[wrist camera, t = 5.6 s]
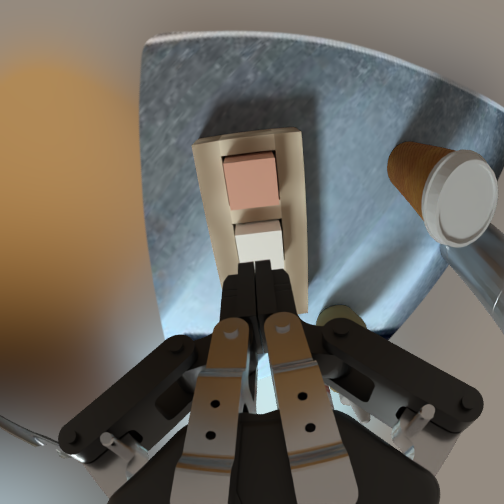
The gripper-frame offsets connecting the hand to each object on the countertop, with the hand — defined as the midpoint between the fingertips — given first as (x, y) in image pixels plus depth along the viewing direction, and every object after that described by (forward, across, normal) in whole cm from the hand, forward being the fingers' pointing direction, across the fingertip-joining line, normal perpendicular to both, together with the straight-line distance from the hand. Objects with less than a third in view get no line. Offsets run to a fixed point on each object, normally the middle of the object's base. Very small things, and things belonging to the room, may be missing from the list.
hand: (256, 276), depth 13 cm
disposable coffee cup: (+19, -19, +1) cm, 27 cm away
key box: (+19, 0, +7) cm, 20 cm away
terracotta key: (+16, 0, 0) cm, 16 cm away
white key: (+16, 0, +7) cm, 18 cm away
